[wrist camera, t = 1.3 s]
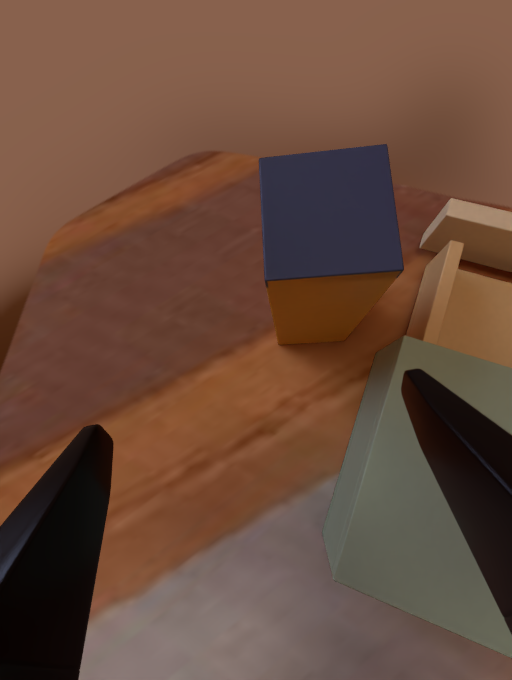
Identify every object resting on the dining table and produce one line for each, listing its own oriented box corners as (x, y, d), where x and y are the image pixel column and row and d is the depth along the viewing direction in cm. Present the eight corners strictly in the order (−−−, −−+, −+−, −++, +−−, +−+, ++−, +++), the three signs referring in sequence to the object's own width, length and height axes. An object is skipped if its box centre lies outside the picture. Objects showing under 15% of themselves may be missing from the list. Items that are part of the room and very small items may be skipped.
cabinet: (375, 352, 24) (404, 334, 18) (552, 408, 22) (649, 409, 16) (321, 532, 22) (332, 580, 16) (508, 610, 20) (601, 697, 14)
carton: (338, 275, 25) (387, 143, 12) (344, 341, 24) (405, 269, 11) (274, 280, 26) (258, 157, 13) (278, 345, 25) (264, 280, 12)
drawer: (427, 218, 24) (456, 180, 20) (584, 258, 23) (650, 224, 18) (378, 385, 22) (398, 380, 18) (545, 441, 21) (609, 450, 17)
